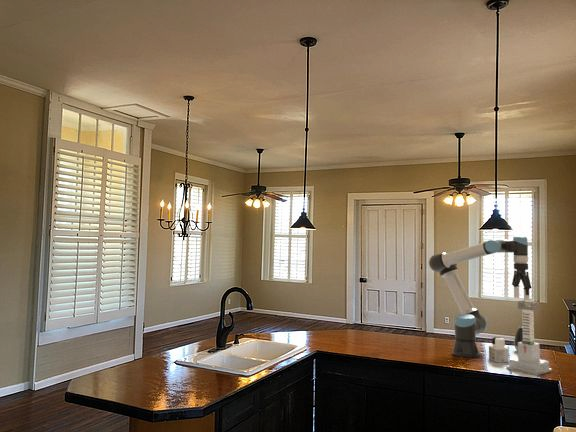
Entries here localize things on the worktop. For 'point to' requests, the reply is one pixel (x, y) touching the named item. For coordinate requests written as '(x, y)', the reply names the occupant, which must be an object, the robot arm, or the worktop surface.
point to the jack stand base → (529, 360)
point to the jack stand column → (528, 320)
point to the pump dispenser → (518, 337)
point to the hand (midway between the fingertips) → (521, 299)
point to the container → (498, 350)
